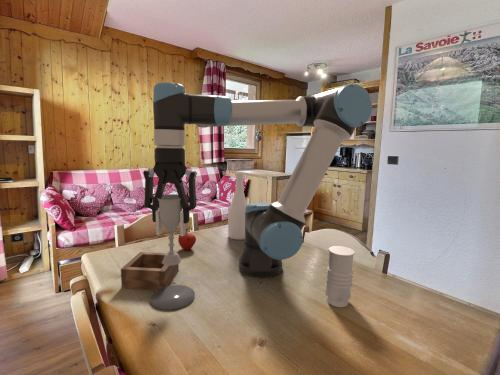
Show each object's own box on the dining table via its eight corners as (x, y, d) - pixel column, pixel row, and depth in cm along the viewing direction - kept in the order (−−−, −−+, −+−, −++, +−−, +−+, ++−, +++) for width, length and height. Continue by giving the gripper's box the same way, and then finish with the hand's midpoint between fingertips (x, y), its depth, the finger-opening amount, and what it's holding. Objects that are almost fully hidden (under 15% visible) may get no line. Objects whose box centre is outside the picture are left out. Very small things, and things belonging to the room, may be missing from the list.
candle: (319, 297, 82) (323, 247, 80) (338, 292, 85) (342, 244, 82) (335, 310, 76) (339, 256, 73) (355, 305, 79) (360, 253, 76)
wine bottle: (225, 239, 128) (226, 172, 123) (230, 232, 137) (231, 170, 132) (246, 241, 126) (248, 173, 121) (250, 234, 135) (252, 171, 130)
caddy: (178, 270, 96) (178, 253, 95) (165, 290, 83) (164, 271, 82) (140, 268, 97) (140, 251, 96) (121, 288, 84) (120, 269, 83)
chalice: (177, 268, 74) (176, 200, 71) (153, 265, 75) (151, 198, 72) (188, 257, 81) (188, 195, 78) (166, 255, 82) (165, 193, 79)
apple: (187, 245, 120) (187, 222, 118) (199, 249, 116) (199, 225, 114) (173, 250, 113) (172, 226, 112) (184, 254, 110) (184, 229, 108)
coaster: (199, 287, 85) (199, 286, 85) (188, 311, 74) (188, 309, 73) (159, 285, 86) (159, 283, 86) (142, 308, 74) (142, 306, 74)
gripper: (209, 147, 76) (208, 231, 80) (140, 145, 77) (143, 228, 81) (202, 148, 69) (202, 240, 73) (126, 146, 70) (130, 237, 74)
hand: (171, 233), depth 77 cm, fingers closed on chalice, 6 cm apart
